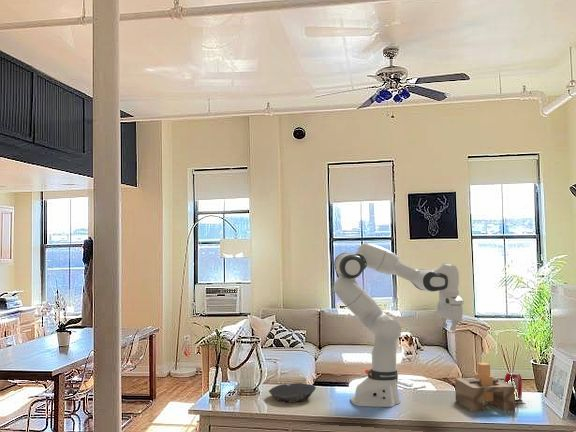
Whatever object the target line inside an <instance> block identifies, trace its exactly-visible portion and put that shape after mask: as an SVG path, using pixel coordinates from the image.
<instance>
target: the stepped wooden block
mask: <svg viewBox="0 0 576 432" xmlns="http://www.w3.org/2000/svg"><path fill="white" fill-rule="evenodd" d="M476 364H477V365H476V367H477V368H476V369H477V373H475V374H474V378H475V379H480V380H481V382H479V383H476V384H478V385H480V386H493V377H494V376H492V375H491V364H489V363H487V362H476ZM488 401H493V392H484V402H488Z"/></svg>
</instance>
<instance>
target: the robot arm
mask: <svg viewBox="0 0 576 432" xmlns="http://www.w3.org/2000/svg"><path fill="white" fill-rule="evenodd" d="M333 265H334V271H335V275H336V277H337V279H336V281H335V282H334V284H333V291H334V293H335V294H336V296H337V298H338V299H339V300H340V301H341V303H343V305H344V306H345V307H347V308H348V310H350V311H351V312H352V314H353V315H354V316H355V317H356V318H357V319H358V320H359V321H360V322H361V323H362V324H363V326H364V327H365V328H366V329H367V330H368V331H369V332H370V333H371V334H372V335H373V336H374V343H373V348H372V349H371V368H370V369H368V368H366V369H365V370H364V373H365V374H366V375H367V377H366V378H365V379H364V380H363V381H361V382H360V383H359V384H357V386H356V388H355V392H354V393H355V394H354V395H351V396H350V399H349V400H350V402H351V403H352V404H353V405H355V406H357V407H374V408H375V407H379V408H382V407H384V408H385V407H387V408H391V407H394V406H395V405H398V404H400V403H401V399H400V395H399V394H400V393H399V389H398V379H399V377H398V375H399V373H398V369H397V349H398V345H399V340H400V336H401V335H402V327H401V324H400V323H399V322H398V320H397V319H396V318H394V317H392V316H389V315H388V314H386V313H385V312H384V310H382V308H381V307H380V306H379V305H378V303H377V302H376V300H375V299H374V298H373V297H372V296H371V295H369V293H368V292H367V291H366V290H365V289H364V288H362V286H361V285H360V284H359V283H358V282H357V280H356V279H357V278H358V277H359V276H360V275H361V274H362V273H363V272H364V271H365V269H366V268H368V269H371V270H373V271H376V272H378V273H382V274H383V275H384V274H385V275H395V276H398V277H400V278H403V279H405V280H407V281H409V282H410V283H411V284H413V286H414V287H415V288H417V289H418V290H420V291H426V292H431V293H432V292H438V301H437V305H436V315H437V317H439V318H440V322H441V328H447V327H448V324H447V320H448V321H451V322H450V323H451V326H450V331H452V332H455V331H456V330H457V325H458V323H459V322H462V320H463V314H464V313H463V305H464V300H463V299H462V297H461V296H460V290H459V285H460V276H459V275H460V274H459V273H460V272H459V269H458V267H457V266H456V265H455V264H449V263H441V264H440V265H439V266H437V267H435V268H433V269H432V268H431V269H430V270H428V269H425V268H423V269H420V268H419V269H417V268H413V267H411V266H410V265H407V264H404V263H403V262H401V261H400V258H399V257H398V255H397V254H396V253H394V252H392V251H391V250H389V249H387V248H385V247H382V246H380V245H377V244H372V243H369V242H364V243H362V244H361V245H360V246H359V247H358V248H357V250H356V252H355V253H349V252H342V253H340V254H338V255H337V256H336V258H335V259H334V263H333Z"/></svg>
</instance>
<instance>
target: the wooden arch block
mask: <svg viewBox="0 0 576 432" xmlns="http://www.w3.org/2000/svg"><path fill="white" fill-rule="evenodd" d="M492 377H493V386H480V385H478V384H476V383H479V382H481V380H480V379H475V377H460V378H459V377H458V378H457V377H456V378H454V383H455V391H454V392H455V401H456V402H458V403H459V404H461V405H462V406H463V407H465V408H467V409H468V410H469V409H470V411H471V412H472V413H473V412H474V413H476V412H477V413H478V412H479V413H481V412H485V401H484V392H493V401H487V402H488V403H491V404H492V405H493V406H495V407H497V408H499V409H500V410H502V411H516V408H515V407H516V402H515V394H514V386H512V385H510V384H508V383H506V382H505V380H504V381H503V380H501V379H500V378H498V377H495V376H492Z"/></svg>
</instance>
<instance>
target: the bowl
mask: <svg viewBox="0 0 576 432" xmlns="http://www.w3.org/2000/svg"><path fill="white" fill-rule="evenodd" d="M316 389H317V386H315V385H314V384H307V383H302V382H295V383H290V384H286V383H285V384H279V385H278V384H277V385H276V386H274V387H272V388H270V389H269V390H268V393H269V394H270V395H271V396H272V397H273V398H275V399H276V400H278V402H284V403H286V404H287V403H290V402H293V403H301V402H302V401H305V400H307V401H308V399H309V397H311V395H312V394H313V393H314V392H315V391H316Z"/></svg>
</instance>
